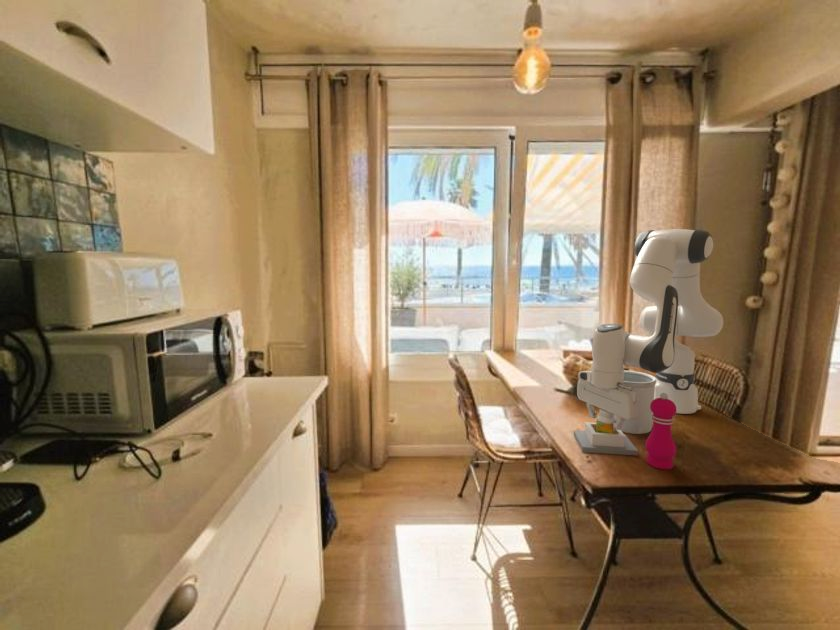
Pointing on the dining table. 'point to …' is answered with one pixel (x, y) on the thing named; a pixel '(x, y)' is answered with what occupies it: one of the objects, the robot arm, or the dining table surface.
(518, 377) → the dining table surface
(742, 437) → the dining table surface
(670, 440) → the pepper mill
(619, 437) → the docking board
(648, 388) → the utensil holder
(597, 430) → the supplement bottle
